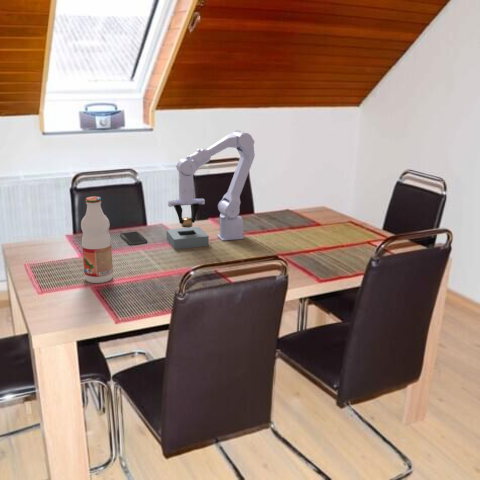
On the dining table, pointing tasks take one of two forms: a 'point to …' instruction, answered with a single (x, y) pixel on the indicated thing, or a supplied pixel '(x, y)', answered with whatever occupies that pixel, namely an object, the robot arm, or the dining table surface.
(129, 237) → the phone
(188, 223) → the disc
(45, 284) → the dining table surface
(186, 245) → the box
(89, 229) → the fruit juice
